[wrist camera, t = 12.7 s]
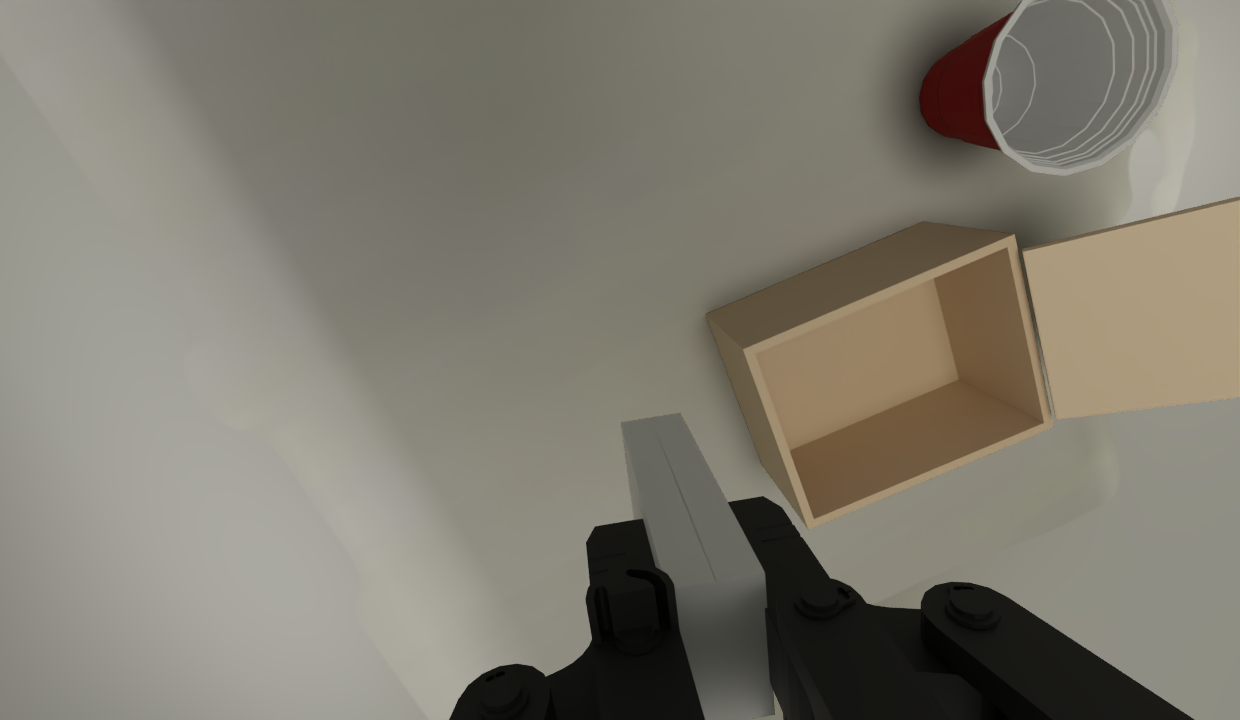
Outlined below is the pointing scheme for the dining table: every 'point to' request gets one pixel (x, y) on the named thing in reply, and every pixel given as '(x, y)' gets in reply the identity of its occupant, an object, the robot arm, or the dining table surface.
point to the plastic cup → (1057, 81)
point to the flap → (1141, 312)
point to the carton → (886, 366)
